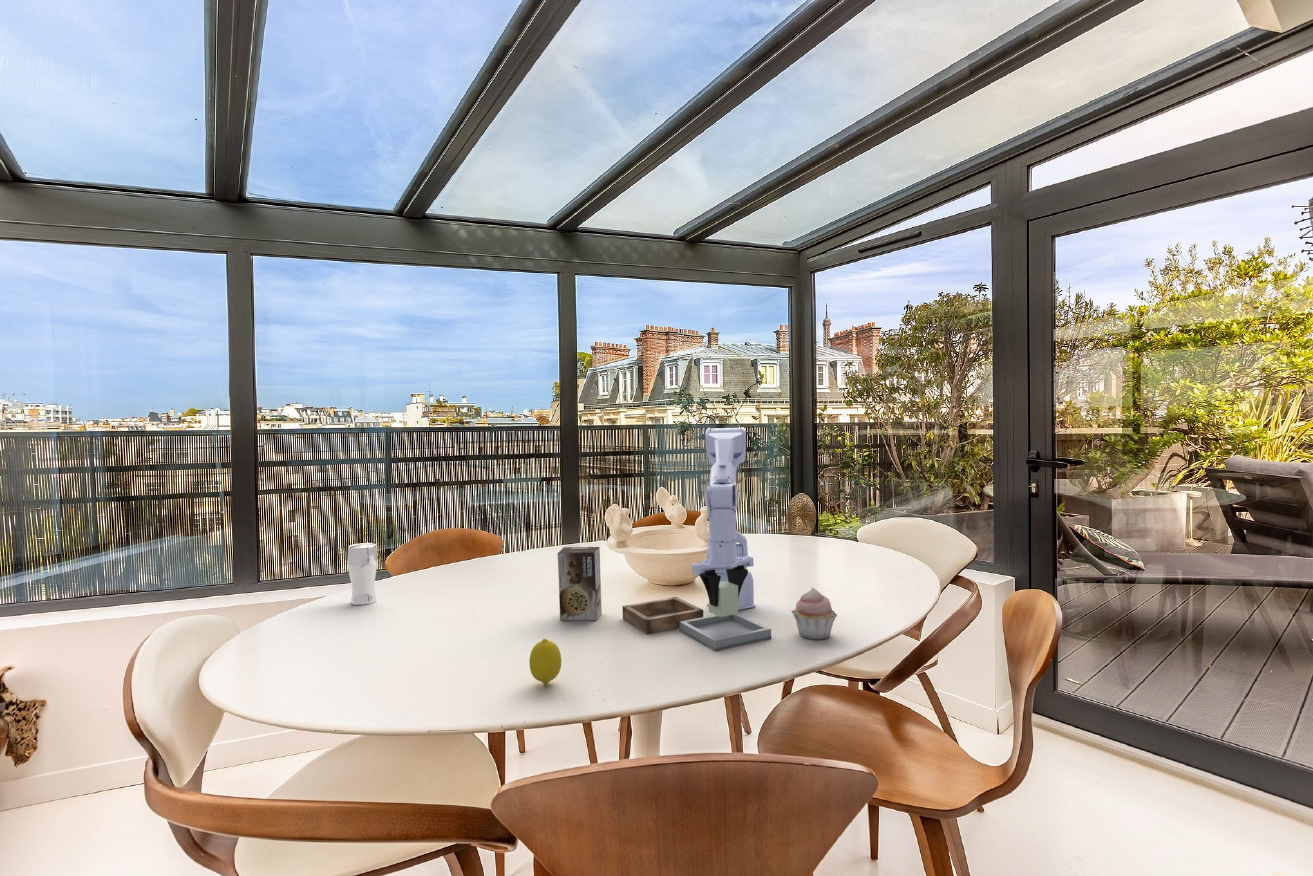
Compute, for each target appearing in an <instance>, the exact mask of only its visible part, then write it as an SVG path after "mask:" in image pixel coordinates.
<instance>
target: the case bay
mask: <svg viewBox="0 0 1313 876" xmlns="http://www.w3.org/2000/svg"><path fill="white" fill-rule="evenodd" d="M673 612H674V613H673ZM667 613H668V614H667ZM659 614H664V615H659ZM655 615H657V616H655ZM648 616H651V617H648ZM652 616H653V617H652ZM701 617H704V609H702V608H701V607H699V606H696V605H695V604H692V603H690V602H688V601H685V600H684V599H682V598H679V597H677V596H674V597H673V596H672V597H668V598H667V597H666V598H661V599H656V600H655V599H654V600H650V601H644V602H639V603H638V602H637V603H632V604H627V605H622V619H623V620H624V621H626V622H628V623H629V624H631V625H632V626H633V627H635V628H636V629H638V630H640V631H641V632H643V633H644V634H646V635H649V634H654V633H659V632H663V631H664V632H665V631H669V630H674V629H680V622H681V621H686V620H691V619H696V618H701Z"/></svg>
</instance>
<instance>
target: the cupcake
mask: <svg viewBox="0 0 1313 876" xmlns="http://www.w3.org/2000/svg"><path fill="white" fill-rule="evenodd" d="M835 612H836V611H835V610H833V608H832V604H831V602H830V599H829V598H828V597H827V596H825V595H824V594H822V593H821V592H820V591H818V590H817V589H815V588H814V587H812V588H811V589H810V590H809V591H807V592H804V594H802V595H801V596H800V599H799V600H797V602H796V604H795V609H793V610H791V613H792V615H793V617H794V619H795V623H796V626H797V627H796V628H797V630H798V634H799V635H800V636H801V637H802V638H805V639H807V640H808V639H809V640H825V639H828V638H830V636H831V633H832V629H833V626H834V625H833V624H834V622H835V620H836V618H837V616H838V613H835Z"/></svg>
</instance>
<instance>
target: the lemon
mask: <svg viewBox="0 0 1313 876" xmlns="http://www.w3.org/2000/svg"><path fill="white" fill-rule="evenodd" d="M529 655H530V656H529V661H528V662H529V669H530V674H531V675H532V677H533V678H534V679H535V680H537V681H538V682H541V683H542V684H544V685H548V684H549V683H550V682H551V681H553V680H554V679H556V678H557V677H558V675H559V674H560V671H561V669H562V655H561V651H560V648H559V646H558V645H557V644H556V643H555V642H553V641H551V640H549V639H547V638H543V639H542V640H541V641H538V642H537V643H536V644H535V645H534V646H533V647H532V649H531V651H530V654H529Z"/></svg>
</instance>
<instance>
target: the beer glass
mask: <svg viewBox="0 0 1313 876" xmlns="http://www.w3.org/2000/svg"><path fill="white" fill-rule="evenodd" d="M376 546H377V545H376V543H373V542H365V543H354V544H351V545H348V547H347V570H348V575H349V579H350V584H351V590H352V591H351V599H350V604H351V605H352V606H365V605H371V604H373V603H375V602H376V601H377V595H376V591H375V581H376V576H377V575H376V574H377V570H378V569H377V566H378V556H377V547H376Z"/></svg>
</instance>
